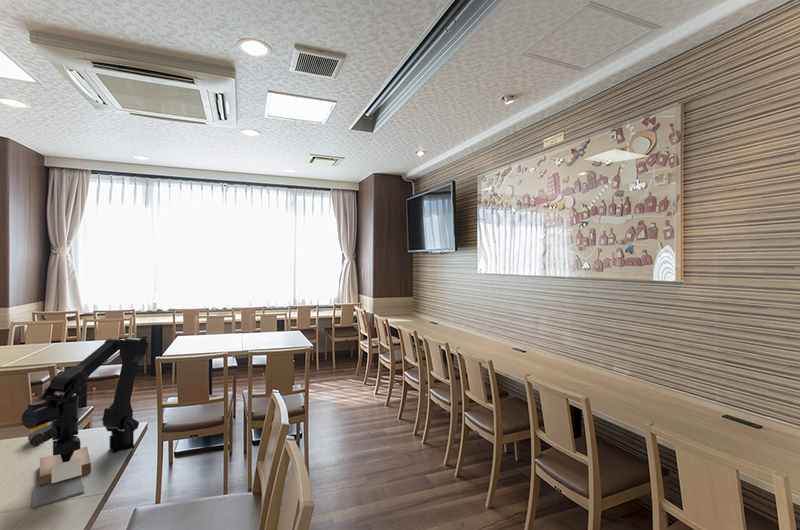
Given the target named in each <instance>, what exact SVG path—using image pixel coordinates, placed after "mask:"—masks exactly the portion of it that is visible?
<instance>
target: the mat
mask: <svg viewBox="0 0 800 530" xmlns="http://www.w3.org/2000/svg"><path fill="white" fill-rule="evenodd" d="M31 494H32V499H31V501H32V502H31V509H32V510H33V509H36V508H40V507H43V506H46V505H51V504H53V503H56V502H59V501H62V500H66V499H68V498H69V499H70V498H73V497H75V496H78V495H79V496H80V495H81V494H85V491H84V483H83V480H82V475H81V476H78V477H74V478H71V479H67V480H64V481H61V482H57V483H54V484H51V483H50V484H46V485H43V486H39V487H36V488H32V493H31Z"/></svg>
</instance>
